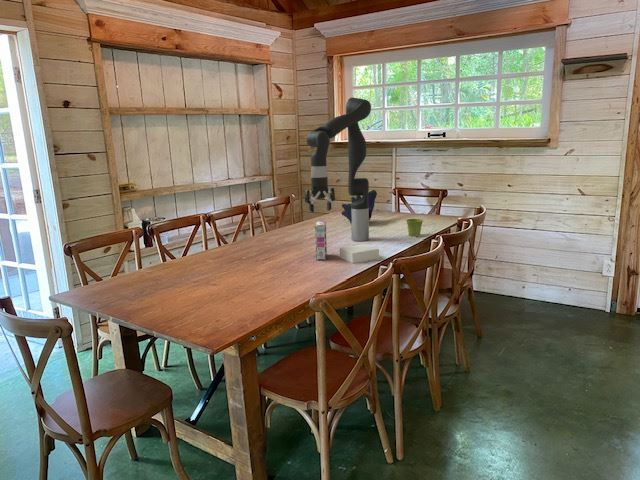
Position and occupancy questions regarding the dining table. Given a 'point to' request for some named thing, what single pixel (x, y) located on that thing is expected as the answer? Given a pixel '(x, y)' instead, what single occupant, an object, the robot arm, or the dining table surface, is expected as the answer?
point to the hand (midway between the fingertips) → (320, 211)
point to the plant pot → (414, 226)
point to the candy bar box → (321, 240)
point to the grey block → (359, 253)
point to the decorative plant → (347, 207)
